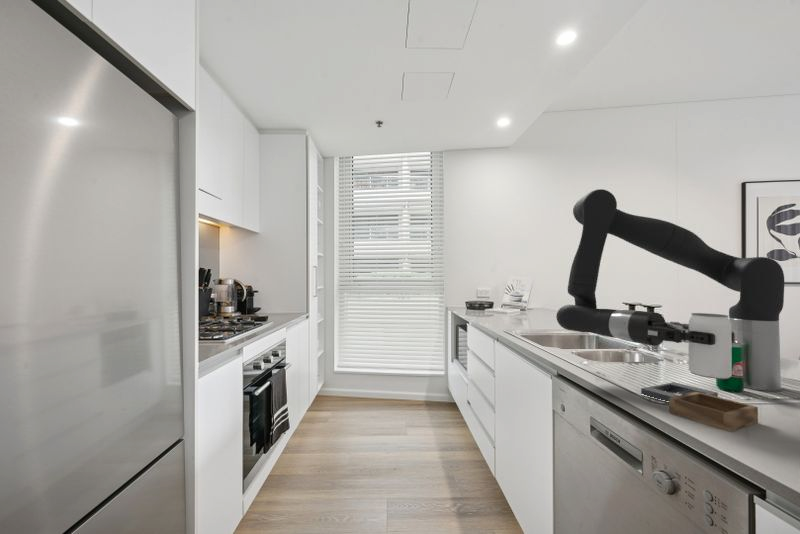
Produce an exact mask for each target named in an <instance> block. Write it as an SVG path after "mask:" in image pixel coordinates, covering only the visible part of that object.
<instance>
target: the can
mask: <svg viewBox="0 0 800 534" xmlns="http://www.w3.org/2000/svg"><path fill="white" fill-rule="evenodd" d="M688 324H689V330H690V333H691V331H698V332H706V333H713V334H714V335H715V344H714V345H707V344H700V343H694V342H691V341H690V343H688V371H689V372H690V373H691V374H693V375H695V376H699V377H703V378H708V379H709V378H710V379H715V380H716V379H729V378H730V377H731V376H732V330H731V323H730V321H729V315H726V314H721V313H720V314H719V313H705V312H703V313H701V312H693V313H691V316H690V318H689V320H688Z"/></svg>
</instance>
